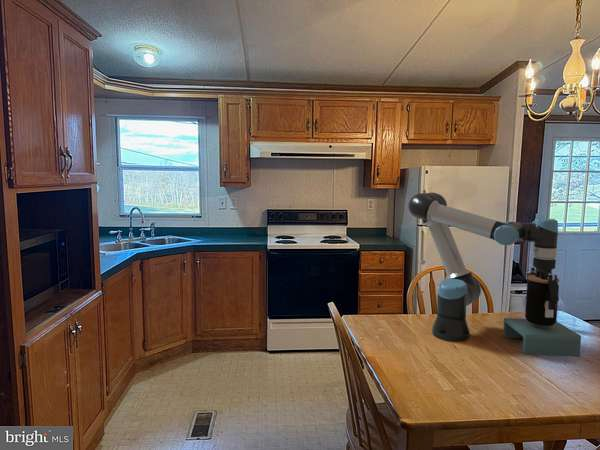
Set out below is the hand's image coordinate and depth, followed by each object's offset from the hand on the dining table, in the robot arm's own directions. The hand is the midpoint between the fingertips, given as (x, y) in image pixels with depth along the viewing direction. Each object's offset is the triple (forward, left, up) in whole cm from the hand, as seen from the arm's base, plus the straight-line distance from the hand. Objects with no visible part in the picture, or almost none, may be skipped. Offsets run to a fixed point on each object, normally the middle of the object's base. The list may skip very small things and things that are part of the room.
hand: (540, 312), depth 152 cm
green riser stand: (0, 0, -14) cm, 14 cm away
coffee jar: (0, 0, -4) cm, 4 cm away
